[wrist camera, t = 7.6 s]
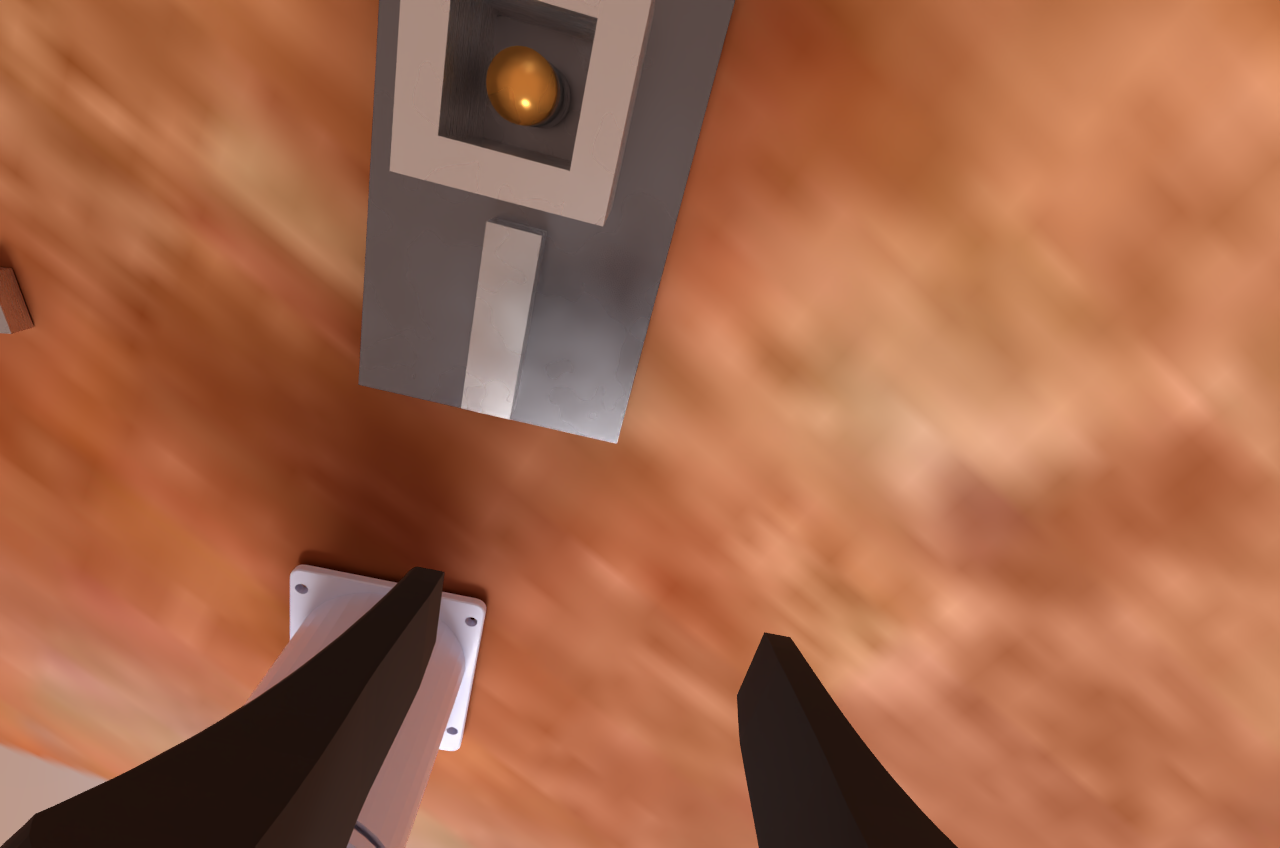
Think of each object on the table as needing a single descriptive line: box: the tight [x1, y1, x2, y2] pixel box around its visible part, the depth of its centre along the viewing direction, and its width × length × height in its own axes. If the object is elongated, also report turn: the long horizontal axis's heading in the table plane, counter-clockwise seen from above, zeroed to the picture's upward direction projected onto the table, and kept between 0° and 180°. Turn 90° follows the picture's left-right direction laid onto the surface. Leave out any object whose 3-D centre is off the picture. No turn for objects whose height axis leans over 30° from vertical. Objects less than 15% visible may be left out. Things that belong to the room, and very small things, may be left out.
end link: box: [390, 0, 655, 226], centre depth 15 cm, size 5×5×4 cm
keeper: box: [359, 0, 735, 444], centre depth 17 cm, size 14×9×4 cm, turn 166°
